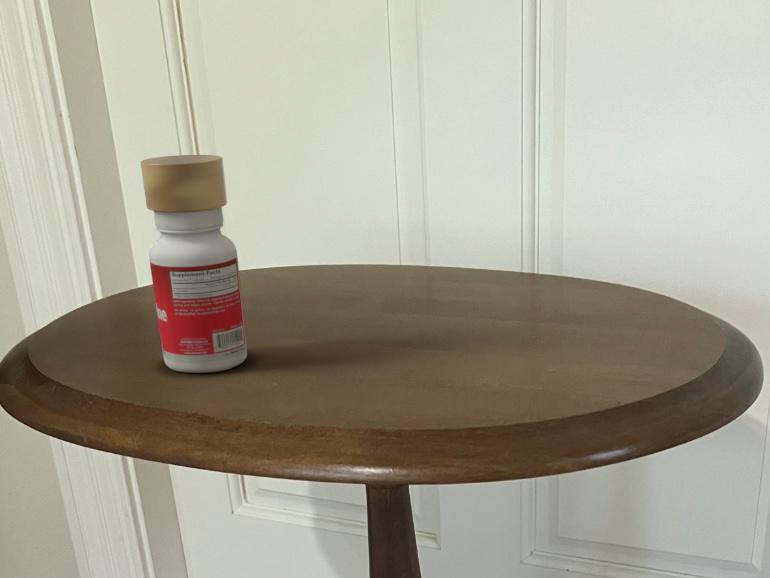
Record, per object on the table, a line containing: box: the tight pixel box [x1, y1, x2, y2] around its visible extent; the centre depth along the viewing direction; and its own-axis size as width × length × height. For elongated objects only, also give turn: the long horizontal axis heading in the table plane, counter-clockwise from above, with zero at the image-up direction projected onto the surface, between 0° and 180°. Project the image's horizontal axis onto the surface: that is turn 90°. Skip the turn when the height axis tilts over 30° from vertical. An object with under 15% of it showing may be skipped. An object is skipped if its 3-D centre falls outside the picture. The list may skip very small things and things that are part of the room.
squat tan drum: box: [140, 154, 228, 212], centre depth 74 cm, size 6×6×3 cm
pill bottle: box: [148, 206, 248, 374], centre depth 78 cm, size 6×6×11 cm
